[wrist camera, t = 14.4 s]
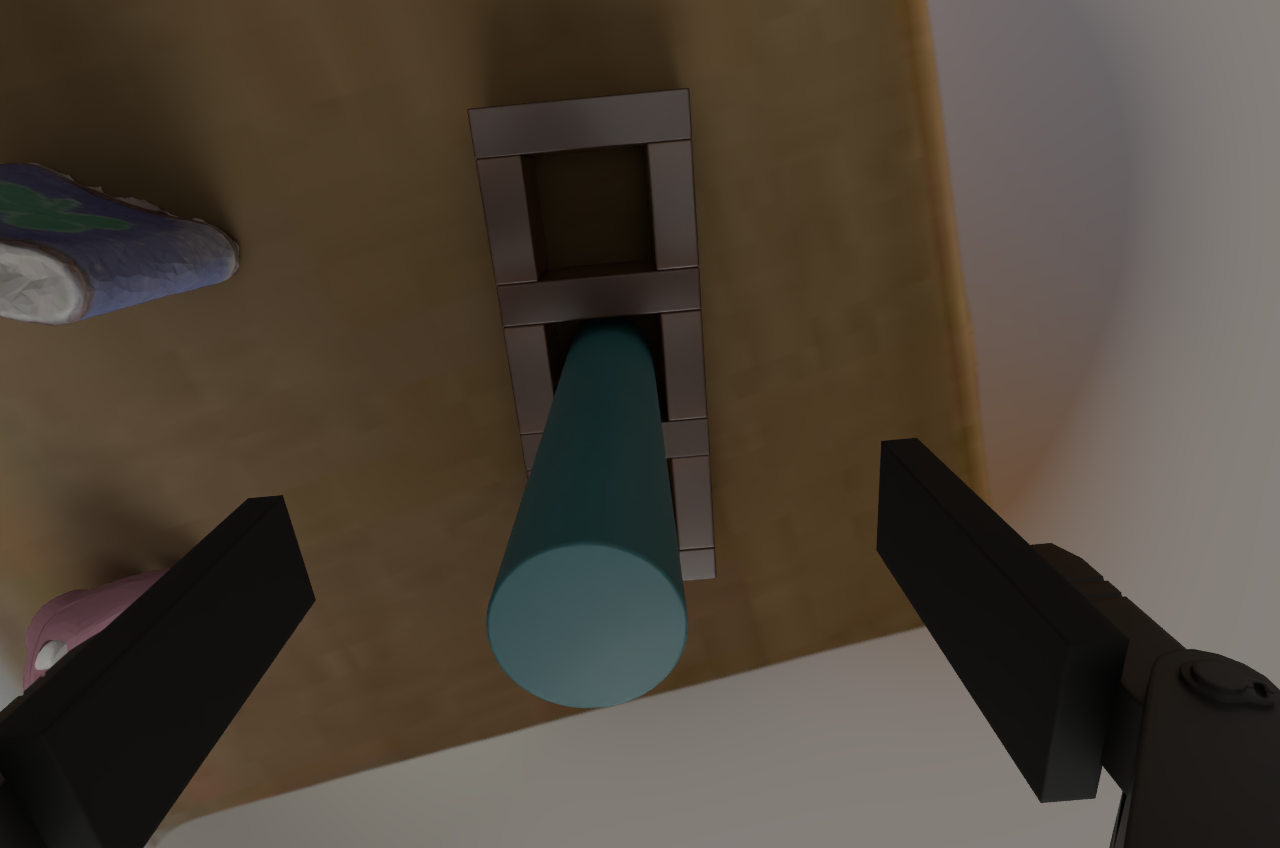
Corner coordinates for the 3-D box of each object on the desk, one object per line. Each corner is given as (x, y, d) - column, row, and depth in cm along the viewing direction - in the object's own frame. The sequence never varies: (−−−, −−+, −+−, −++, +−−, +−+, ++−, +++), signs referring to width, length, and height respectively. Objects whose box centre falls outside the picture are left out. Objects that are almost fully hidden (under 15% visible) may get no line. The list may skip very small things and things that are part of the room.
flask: (248, 234, 28) (32, 273, 18) (237, 301, 29) (26, 374, 19) (7, 148, 26) (-371, 138, 16) (4, 221, 27) (-355, 254, 17)
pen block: (486, 116, 26) (466, 108, 23) (681, 97, 26) (689, 87, 23) (553, 551, 33) (545, 593, 30) (708, 538, 33) (716, 579, 30)
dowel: (565, 317, 29) (469, 550, 11) (648, 310, 29) (682, 532, 11) (575, 396, 30) (502, 717, 13) (654, 389, 30) (694, 701, 13)
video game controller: (156, 539, 34) (-18, 612, 28) (215, 566, 33) (43, 649, 27) (187, 694, 38) (38, 787, 32) (243, 725, 36) (96, 831, 30)
